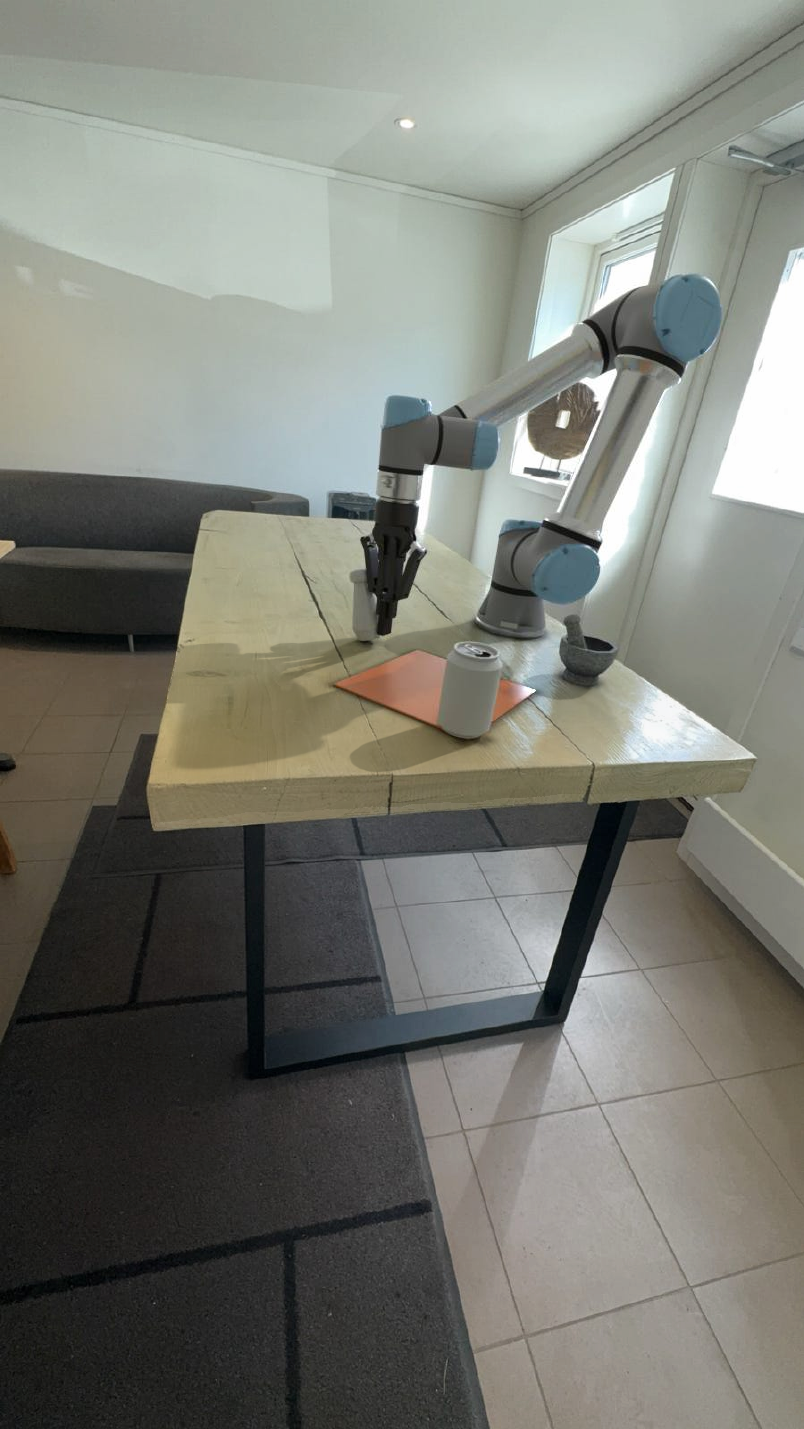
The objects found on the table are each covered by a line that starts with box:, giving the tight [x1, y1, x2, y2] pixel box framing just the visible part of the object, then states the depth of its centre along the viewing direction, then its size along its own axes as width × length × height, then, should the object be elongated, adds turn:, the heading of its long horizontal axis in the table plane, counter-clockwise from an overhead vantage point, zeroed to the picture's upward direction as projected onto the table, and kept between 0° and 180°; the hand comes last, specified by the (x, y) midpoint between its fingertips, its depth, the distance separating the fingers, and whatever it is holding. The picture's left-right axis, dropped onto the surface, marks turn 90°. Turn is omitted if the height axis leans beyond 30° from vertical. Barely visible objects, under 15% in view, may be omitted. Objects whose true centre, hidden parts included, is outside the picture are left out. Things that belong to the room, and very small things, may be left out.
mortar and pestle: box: [558, 613, 619, 687], centre depth 104 cm, size 11×9×12 cm
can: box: [437, 641, 504, 739], centre depth 80 cm, size 8×8×12 cm
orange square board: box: [333, 649, 537, 741], centre depth 95 cm, size 24×24×1 cm
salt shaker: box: [349, 567, 381, 642], centre depth 110 cm, size 6×6×13 cm
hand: (383, 633), depth 109 cm, fingers closed
